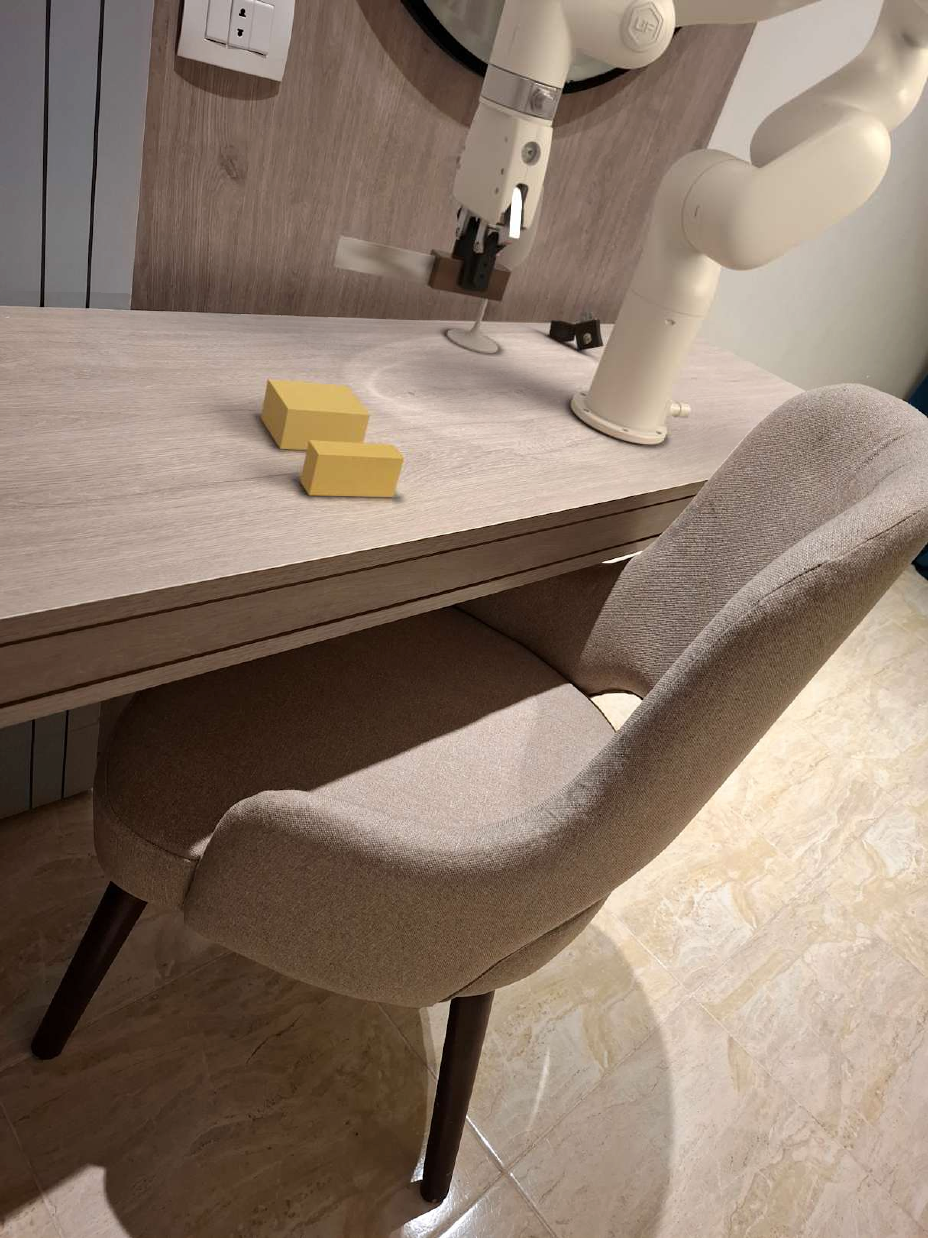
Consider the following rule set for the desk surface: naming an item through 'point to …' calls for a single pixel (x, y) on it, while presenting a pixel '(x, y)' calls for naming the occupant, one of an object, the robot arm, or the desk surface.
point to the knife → (415, 266)
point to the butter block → (312, 413)
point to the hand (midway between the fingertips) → (466, 282)
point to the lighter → (578, 332)
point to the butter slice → (351, 469)
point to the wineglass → (473, 338)
